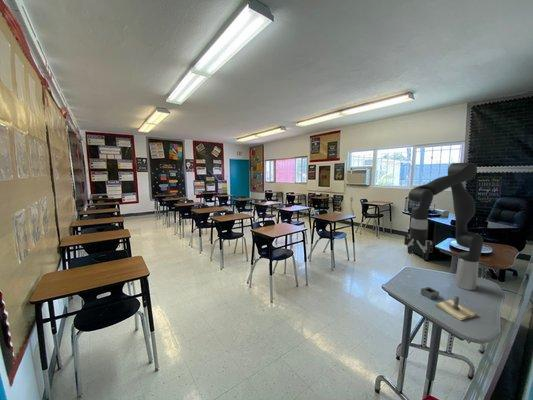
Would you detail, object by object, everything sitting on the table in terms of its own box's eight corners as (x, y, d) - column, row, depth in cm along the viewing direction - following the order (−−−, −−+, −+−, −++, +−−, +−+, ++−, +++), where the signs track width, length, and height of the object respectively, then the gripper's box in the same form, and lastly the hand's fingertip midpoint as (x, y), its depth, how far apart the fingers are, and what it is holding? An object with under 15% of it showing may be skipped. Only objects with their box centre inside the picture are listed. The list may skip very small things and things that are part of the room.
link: (428, 291, 132) (428, 286, 131) (438, 297, 126) (439, 292, 125) (420, 293, 130) (420, 288, 129) (430, 299, 124) (431, 294, 124)
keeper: (450, 301, 122) (451, 289, 121) (476, 315, 110) (478, 301, 109) (435, 305, 118) (436, 293, 117) (460, 320, 107) (462, 306, 106)
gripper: (437, 229, 113) (435, 260, 115) (412, 222, 126) (410, 250, 129) (426, 231, 110) (424, 262, 113) (401, 224, 124) (400, 252, 126)
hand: (417, 256), depth 121 cm, fingers open, 8 cm apart
